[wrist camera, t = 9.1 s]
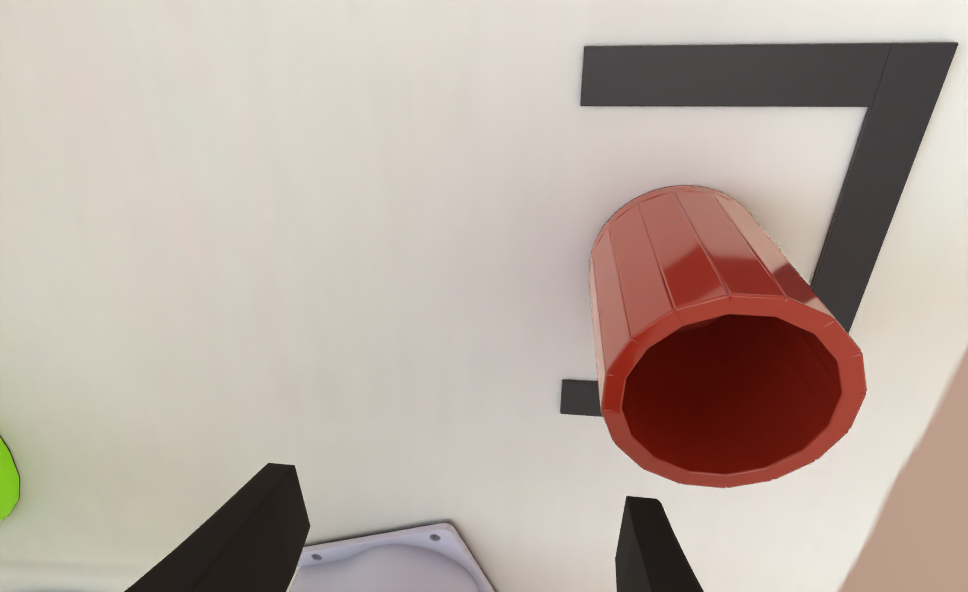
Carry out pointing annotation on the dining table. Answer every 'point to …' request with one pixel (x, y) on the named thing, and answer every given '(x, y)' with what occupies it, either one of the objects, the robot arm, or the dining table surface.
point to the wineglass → (7, 482)
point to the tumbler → (714, 344)
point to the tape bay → (798, 83)
